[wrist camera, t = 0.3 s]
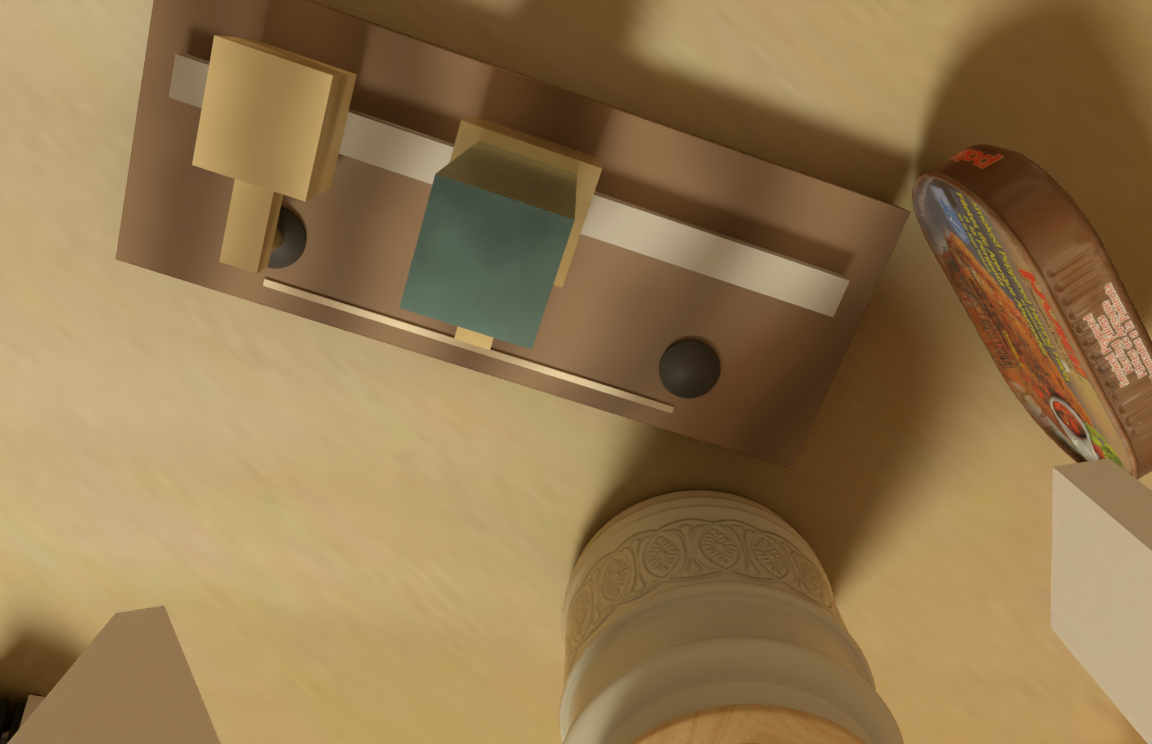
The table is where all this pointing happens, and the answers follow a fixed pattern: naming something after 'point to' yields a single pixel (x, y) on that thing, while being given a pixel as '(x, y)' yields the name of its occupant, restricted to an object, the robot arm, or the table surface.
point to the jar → (710, 634)
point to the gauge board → (400, 195)
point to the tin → (1043, 301)
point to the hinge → (17, 716)
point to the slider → (499, 232)
